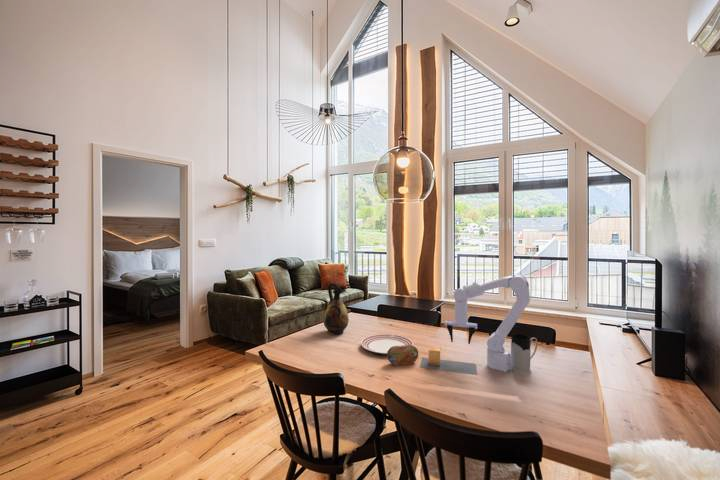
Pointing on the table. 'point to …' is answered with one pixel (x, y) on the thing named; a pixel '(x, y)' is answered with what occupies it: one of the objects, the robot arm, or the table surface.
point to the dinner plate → (384, 342)
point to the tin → (402, 354)
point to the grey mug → (521, 353)
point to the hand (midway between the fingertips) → (460, 342)
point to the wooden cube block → (434, 356)
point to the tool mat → (451, 366)
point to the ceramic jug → (335, 312)
